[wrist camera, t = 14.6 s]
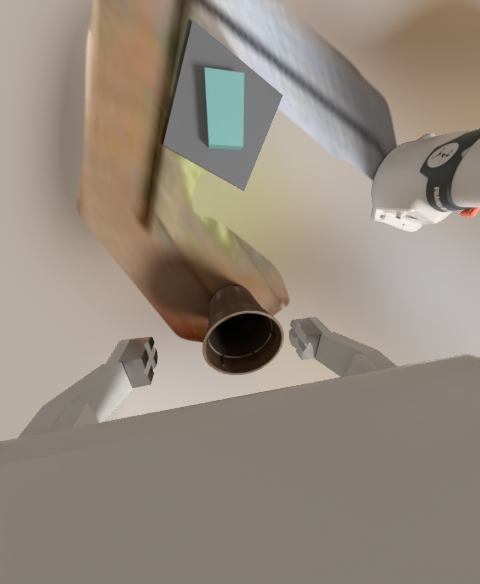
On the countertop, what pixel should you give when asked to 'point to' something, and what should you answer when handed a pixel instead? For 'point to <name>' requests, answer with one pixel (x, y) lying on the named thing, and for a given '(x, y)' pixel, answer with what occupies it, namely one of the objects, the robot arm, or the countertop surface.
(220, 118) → the teal board
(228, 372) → the plant pot
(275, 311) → the countertop surface
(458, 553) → the robot arm
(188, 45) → the mat
